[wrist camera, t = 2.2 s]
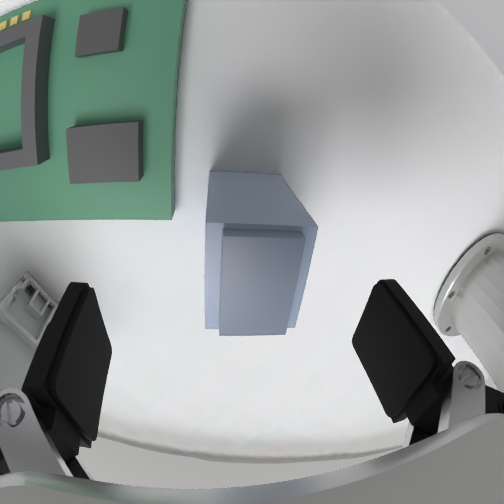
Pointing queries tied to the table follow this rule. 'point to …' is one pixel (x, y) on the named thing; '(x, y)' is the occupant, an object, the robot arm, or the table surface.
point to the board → (89, 109)
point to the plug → (255, 254)
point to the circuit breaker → (22, 330)
